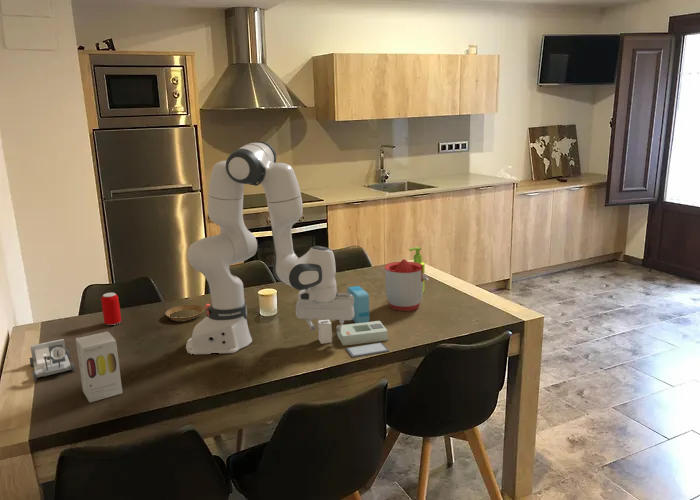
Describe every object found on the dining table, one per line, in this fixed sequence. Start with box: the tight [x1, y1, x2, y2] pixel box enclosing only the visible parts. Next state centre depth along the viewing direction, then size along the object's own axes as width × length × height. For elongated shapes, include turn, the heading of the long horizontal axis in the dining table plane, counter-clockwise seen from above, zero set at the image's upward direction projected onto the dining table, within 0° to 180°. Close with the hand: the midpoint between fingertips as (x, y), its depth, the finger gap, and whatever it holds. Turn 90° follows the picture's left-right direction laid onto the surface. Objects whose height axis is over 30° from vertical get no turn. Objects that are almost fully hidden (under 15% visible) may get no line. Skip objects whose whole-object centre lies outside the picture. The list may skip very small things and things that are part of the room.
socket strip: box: [336, 320, 389, 346], centre depth 201 cm, size 16×10×4 cm, turn 103°
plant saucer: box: [164, 304, 205, 322], centre depth 226 cm, size 15×15×3 cm
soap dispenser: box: [408, 246, 426, 294], centre depth 245 cm, size 6×7×20 cm
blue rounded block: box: [346, 285, 370, 324], centre depth 217 cm, size 12×4×12 cm, turn 19°
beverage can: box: [100, 292, 122, 326], centre depth 219 cm, size 6×6×12 cm
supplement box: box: [75, 331, 123, 404], centre depth 165 cm, size 10×9×17 cm
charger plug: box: [317, 319, 333, 344], centre depth 199 cm, size 4×4×7 cm
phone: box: [345, 341, 390, 359], centre depth 191 cm, size 13×7×1 cm, turn 108°
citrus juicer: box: [384, 258, 429, 312], centre depth 228 cm, size 16×17×20 cm
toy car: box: [29, 338, 76, 382], centre depth 182 cm, size 18×10×12 cm
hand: (326, 330), depth 197 cm, fingers open, 8 cm apart
